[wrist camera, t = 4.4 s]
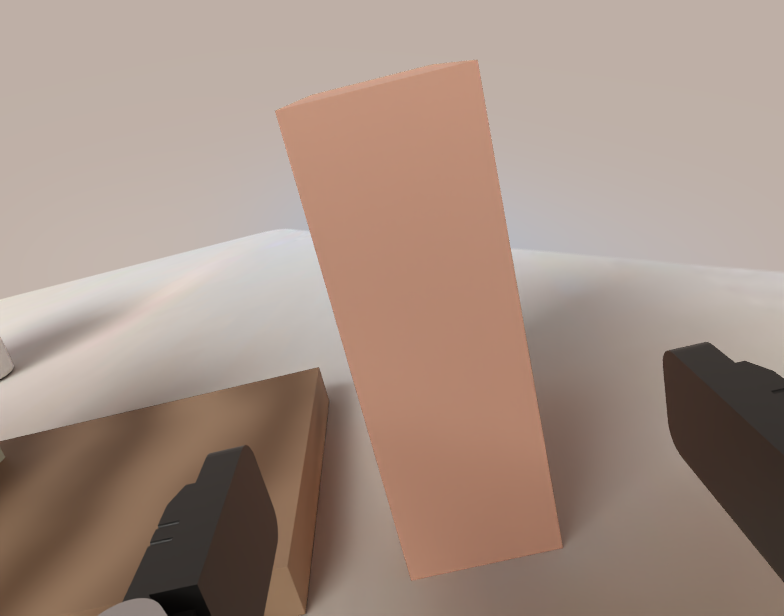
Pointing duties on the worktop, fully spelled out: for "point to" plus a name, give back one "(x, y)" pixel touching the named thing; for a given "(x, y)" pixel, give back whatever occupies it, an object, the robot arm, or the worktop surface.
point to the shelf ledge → (152, 492)
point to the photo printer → (5, 361)
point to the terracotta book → (428, 310)
